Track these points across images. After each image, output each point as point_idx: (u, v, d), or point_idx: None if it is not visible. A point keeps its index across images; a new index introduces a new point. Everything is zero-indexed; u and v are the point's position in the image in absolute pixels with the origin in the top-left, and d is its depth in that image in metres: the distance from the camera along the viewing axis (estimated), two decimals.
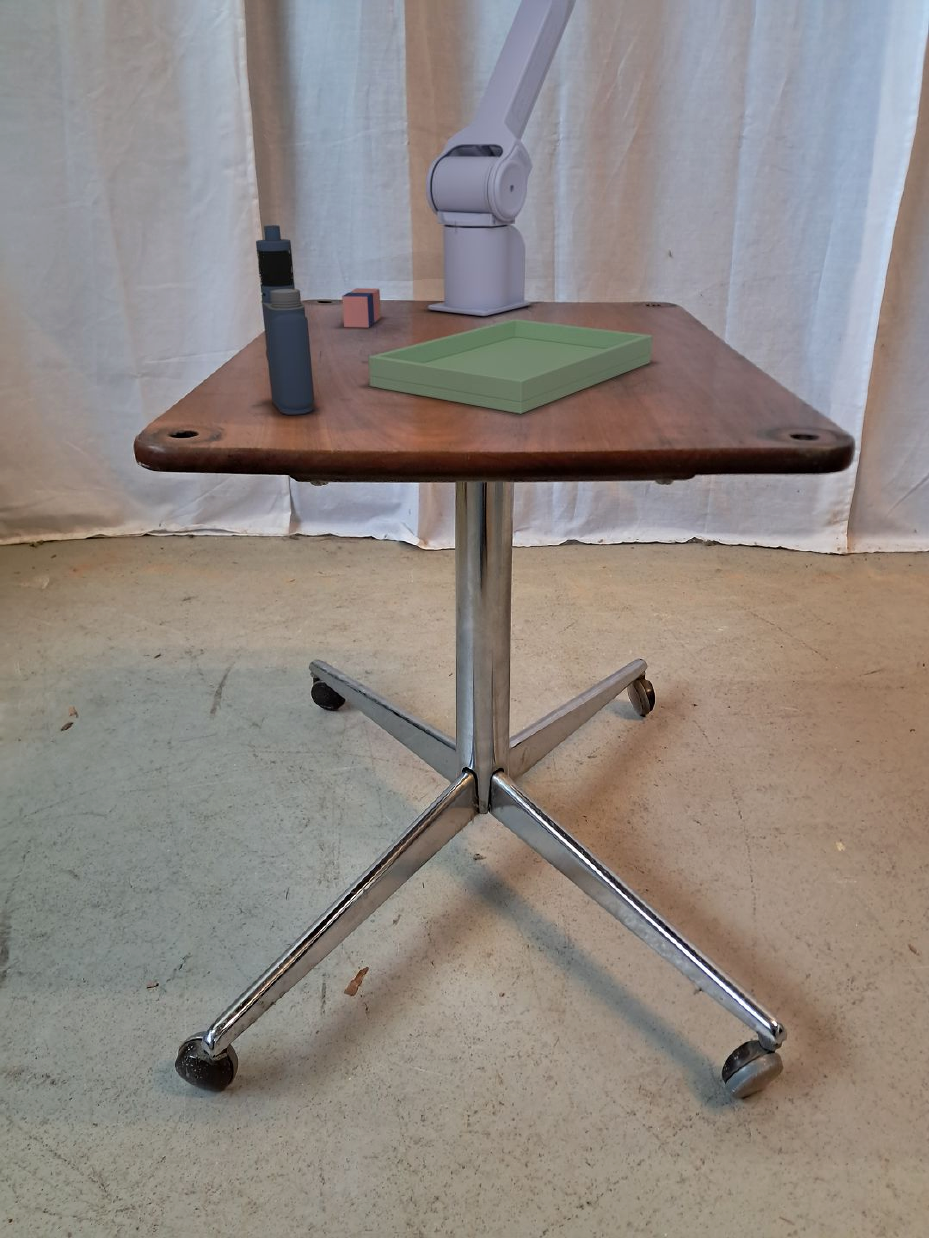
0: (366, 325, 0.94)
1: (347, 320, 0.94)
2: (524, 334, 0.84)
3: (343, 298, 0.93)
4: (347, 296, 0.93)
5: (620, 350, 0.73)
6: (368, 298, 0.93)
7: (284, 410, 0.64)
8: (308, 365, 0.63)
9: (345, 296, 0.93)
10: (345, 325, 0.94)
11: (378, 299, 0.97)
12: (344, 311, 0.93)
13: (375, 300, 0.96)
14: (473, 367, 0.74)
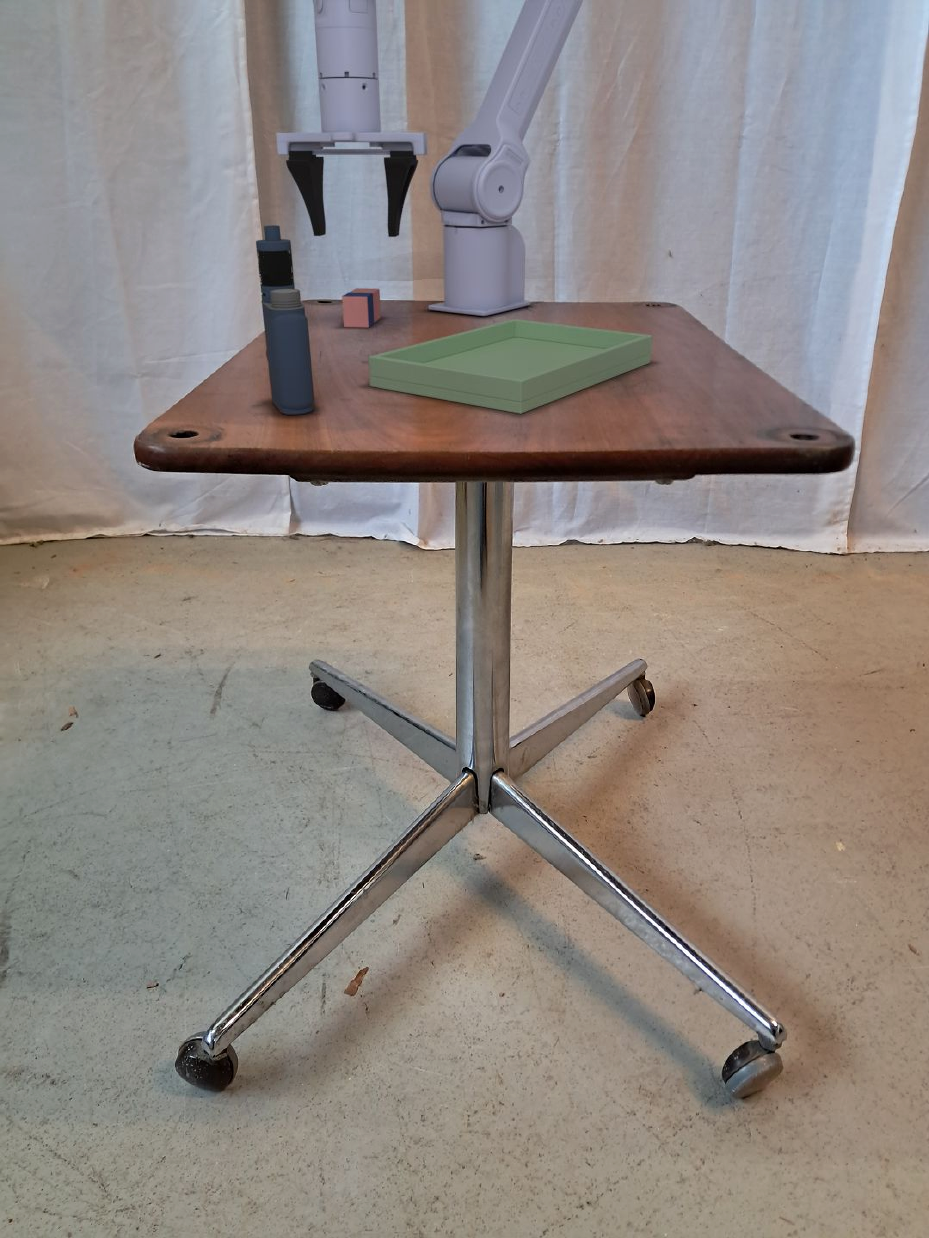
0: (366, 325, 0.94)
1: (347, 320, 0.94)
2: (524, 334, 0.84)
3: (343, 298, 0.93)
4: (347, 296, 0.93)
5: (620, 350, 0.73)
6: (368, 298, 0.93)
7: (284, 410, 0.64)
8: (308, 365, 0.63)
9: (345, 296, 0.93)
10: (345, 325, 0.94)
11: (378, 299, 0.97)
12: (344, 311, 0.93)
13: (375, 300, 0.96)
14: (473, 367, 0.74)
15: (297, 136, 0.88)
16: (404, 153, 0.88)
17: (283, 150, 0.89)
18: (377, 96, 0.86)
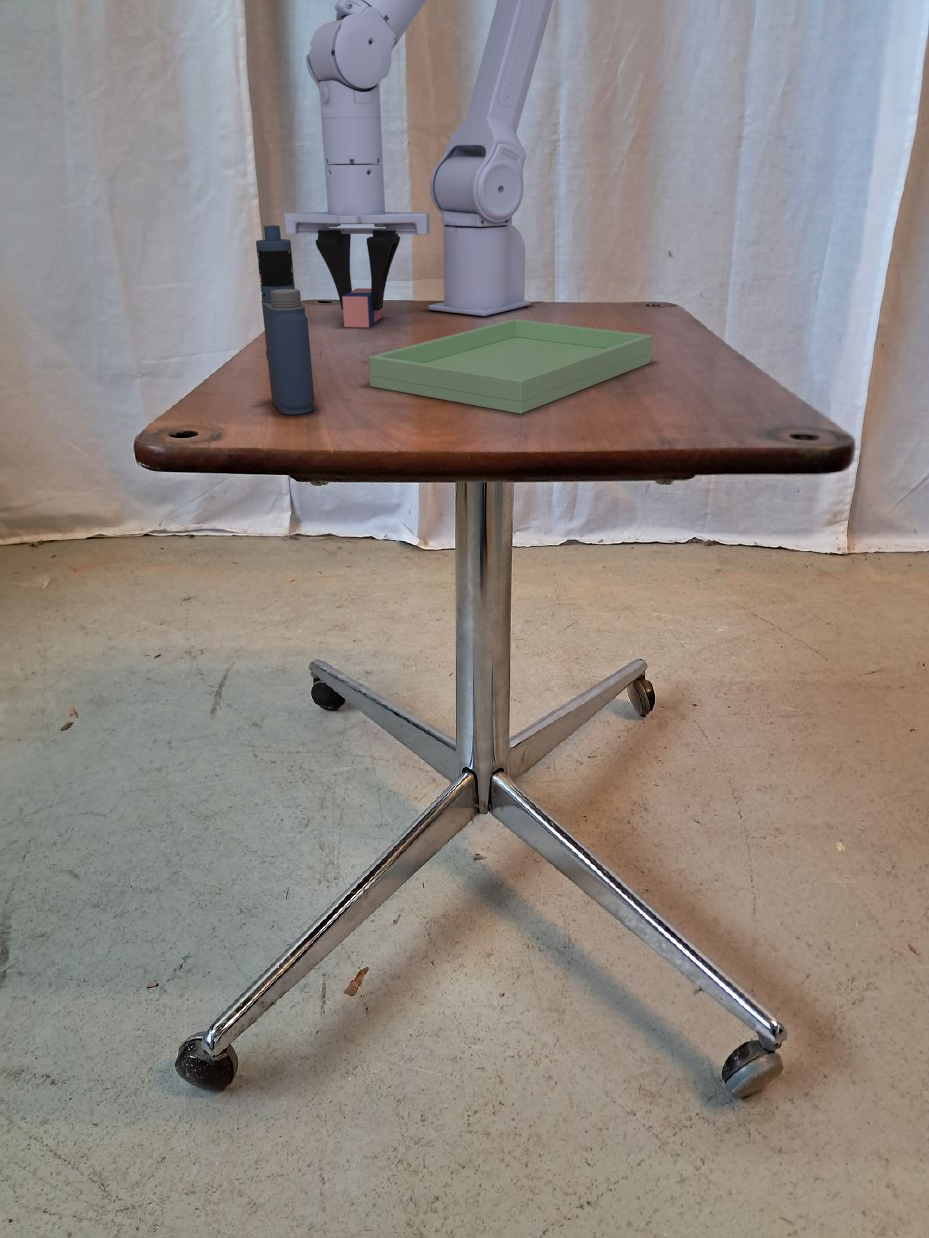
0: (366, 325, 0.94)
1: (347, 320, 0.94)
2: (524, 334, 0.84)
3: (343, 298, 0.93)
4: (347, 296, 0.93)
5: (620, 350, 0.73)
6: (368, 298, 0.93)
7: (284, 410, 0.64)
8: (308, 365, 0.63)
9: (345, 296, 0.93)
10: (345, 325, 0.94)
11: None
12: (344, 311, 0.93)
13: None
14: (473, 367, 0.74)
15: (304, 217, 0.91)
16: (386, 233, 0.91)
17: (291, 230, 0.92)
18: (381, 180, 0.90)
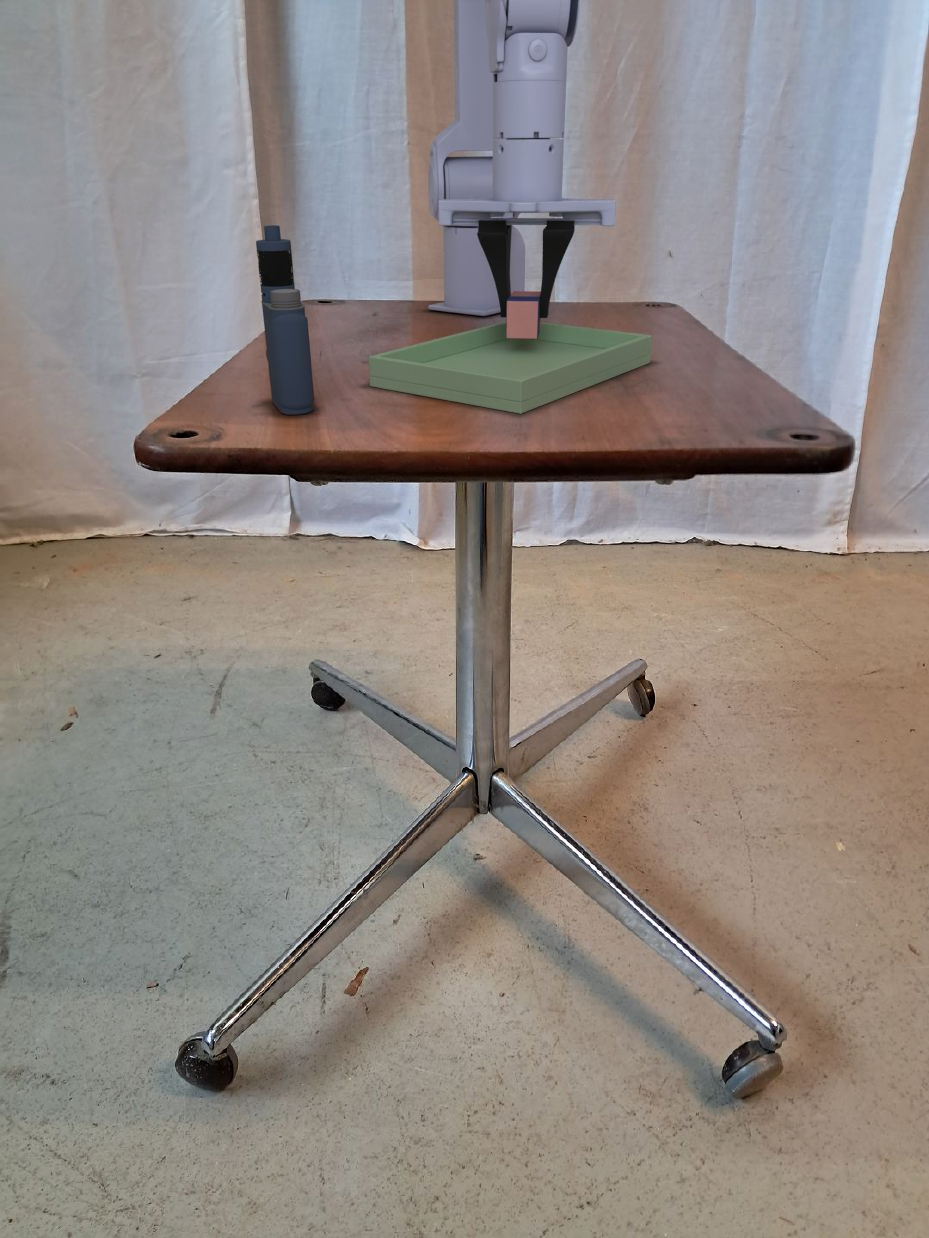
0: (534, 336, 0.77)
1: (511, 330, 0.77)
2: None
3: (508, 303, 0.76)
4: (512, 300, 0.76)
5: (620, 350, 0.73)
6: (538, 303, 0.76)
7: (284, 410, 0.64)
8: (308, 365, 0.63)
9: (510, 301, 0.76)
10: (508, 336, 0.77)
11: None
12: (508, 319, 0.77)
13: None
14: (473, 367, 0.74)
15: (464, 205, 0.75)
16: (564, 224, 0.75)
17: (445, 220, 0.76)
18: (562, 158, 0.73)
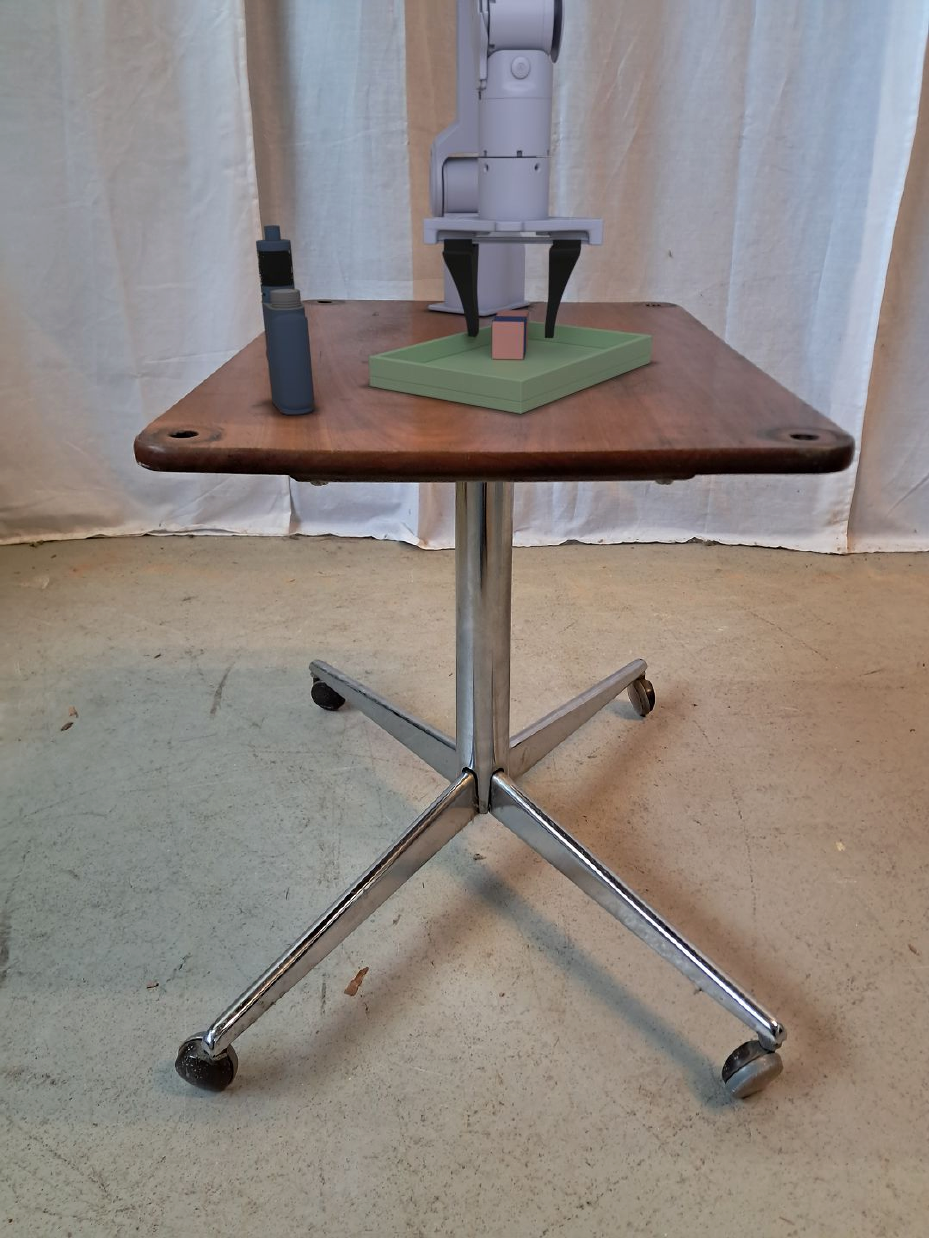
0: (520, 357, 0.76)
1: (497, 350, 0.76)
2: None
3: (494, 324, 0.75)
4: (497, 321, 0.75)
5: (620, 350, 0.73)
6: (524, 323, 0.75)
7: (284, 410, 0.64)
8: (308, 365, 0.63)
9: (496, 321, 0.75)
10: (494, 356, 0.76)
11: None
12: (494, 339, 0.76)
13: (526, 325, 0.78)
14: (473, 367, 0.74)
15: (449, 223, 0.73)
16: (570, 243, 0.73)
17: (430, 239, 0.74)
18: (548, 176, 0.72)
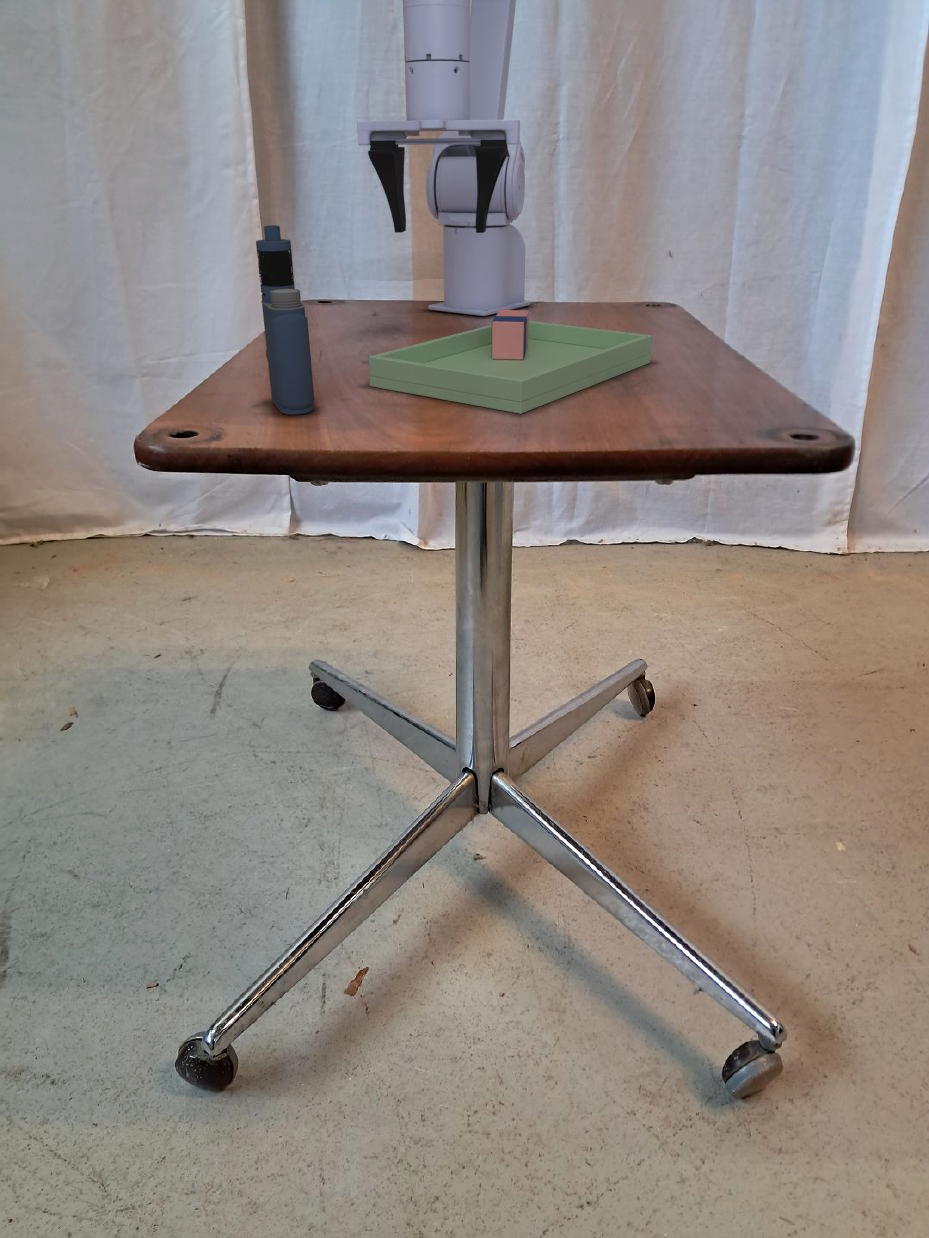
0: (520, 357, 0.76)
1: (497, 350, 0.76)
2: None
3: (494, 324, 0.75)
4: (497, 321, 0.75)
5: (620, 350, 0.73)
6: (524, 323, 0.75)
7: (284, 410, 0.64)
8: (308, 365, 0.63)
9: (496, 321, 0.75)
10: (494, 356, 0.76)
11: None
12: (494, 339, 0.76)
13: (526, 325, 0.78)
14: (473, 367, 0.74)
15: (380, 125, 0.81)
16: (496, 142, 0.81)
17: (364, 140, 0.82)
18: (468, 80, 0.80)
